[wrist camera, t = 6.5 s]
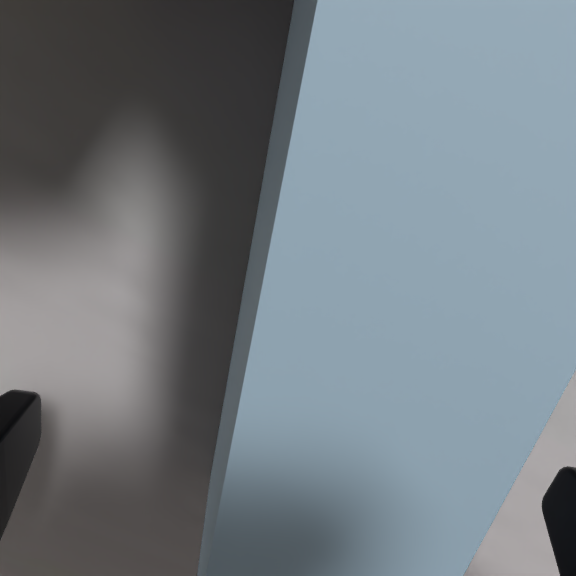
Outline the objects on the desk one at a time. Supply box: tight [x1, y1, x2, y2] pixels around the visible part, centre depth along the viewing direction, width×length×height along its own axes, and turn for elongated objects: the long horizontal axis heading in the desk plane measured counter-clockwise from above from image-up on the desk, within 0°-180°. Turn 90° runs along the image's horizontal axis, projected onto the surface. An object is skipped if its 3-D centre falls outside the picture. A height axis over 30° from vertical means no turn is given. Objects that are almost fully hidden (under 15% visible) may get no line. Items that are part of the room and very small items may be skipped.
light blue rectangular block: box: [197, 0, 576, 576], centre depth 8 cm, size 13×3×5 cm, turn 169°
